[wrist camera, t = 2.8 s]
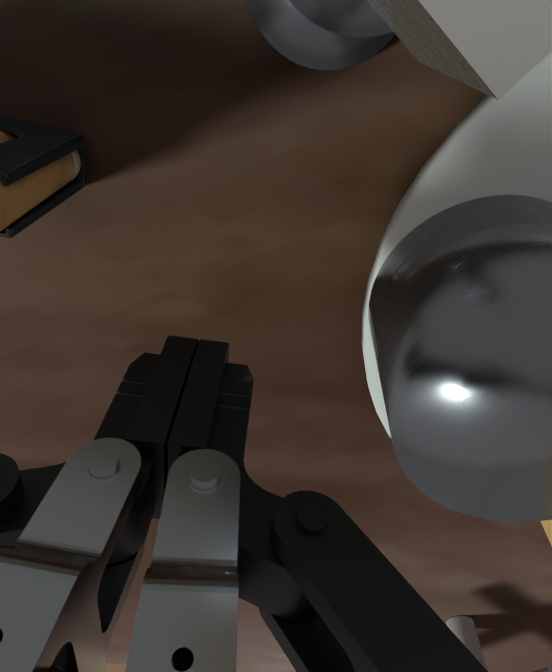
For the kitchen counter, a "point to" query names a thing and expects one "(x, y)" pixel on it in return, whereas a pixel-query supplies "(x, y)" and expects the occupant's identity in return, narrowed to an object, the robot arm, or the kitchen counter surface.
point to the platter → (475, 179)
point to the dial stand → (414, 35)
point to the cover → (471, 356)
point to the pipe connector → (472, 637)
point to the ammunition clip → (36, 171)
